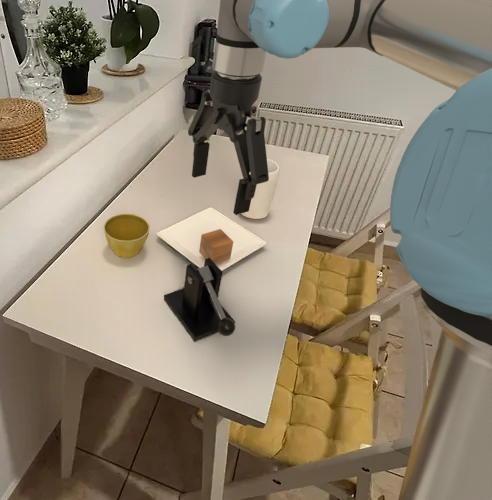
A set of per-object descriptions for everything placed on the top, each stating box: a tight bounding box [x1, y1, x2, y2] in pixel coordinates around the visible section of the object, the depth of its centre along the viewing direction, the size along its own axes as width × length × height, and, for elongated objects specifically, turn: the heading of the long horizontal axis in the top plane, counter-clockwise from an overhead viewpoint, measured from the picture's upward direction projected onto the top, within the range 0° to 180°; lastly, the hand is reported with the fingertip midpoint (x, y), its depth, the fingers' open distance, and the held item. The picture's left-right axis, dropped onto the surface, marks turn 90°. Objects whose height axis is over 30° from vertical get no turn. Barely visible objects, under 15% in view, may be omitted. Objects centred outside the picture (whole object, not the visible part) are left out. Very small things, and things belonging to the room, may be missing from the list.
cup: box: [240, 158, 281, 220], centre depth 107 cm, size 8×8×14 cm
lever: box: [196, 265, 236, 337], centre depth 78 cm, size 13×3×3 cm
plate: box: [155, 206, 268, 272], centre depth 101 cm, size 19×19×2 cm
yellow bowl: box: [103, 213, 150, 259], centre depth 97 cm, size 10×10×7 cm
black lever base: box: [163, 258, 236, 342], centre depth 82 cm, size 12×9×12 cm
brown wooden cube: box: [199, 229, 233, 264], centre depth 94 cm, size 5×5×5 cm
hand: (218, 192), depth 78 cm, fingers open, 13 cm apart
